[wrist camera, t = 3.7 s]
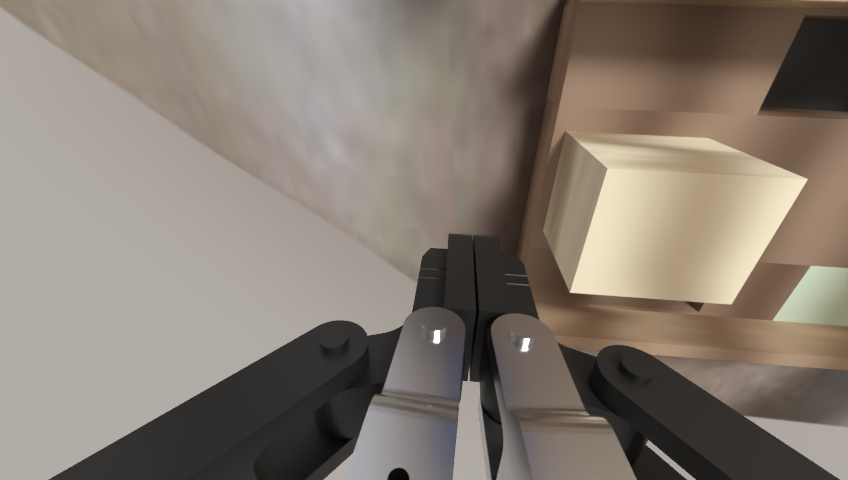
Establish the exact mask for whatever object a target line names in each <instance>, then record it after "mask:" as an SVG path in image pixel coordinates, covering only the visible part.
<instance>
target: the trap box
mask: <svg viewBox="0 0 848 480" xmlns="http://www.w3.org/2000/svg"><path fill="white" fill-rule="evenodd" d="M566 131H572V132H593V133H614V134H634V135H655V136H676V137H697V138H709V139H712V140H714V141H717V142H719V143H721V144H724V145H726V146H729V147H731V148H734V149H736V150H738V151H741V152H743V153H746V154H748V155H751V156H753V157H755V158H758V159H760V160H763V161H765V162H768V163H770V164H773V165H775V166H777V167H780V168H782V169H785V170H787V171H790V172H792V173H794V174H797V175H799V176H802V177H804V178H807V179H808V180H807V182H806V183H805V185H804V187H803V188H802V190H801V192H800V193H799V195H798V196H797V198H796V200H795V201H794V203H793V205H792V206H791V208H790V210H789V211H788V213H787V214H786V216H785V218H784V219H783V221H782V223H781V224H780V226H779V228H778V229H777V231H776V232H775V234H774V236H773V237H772V239H771V241H770V242H769V244H768V246H767V247H766V249H765V250H764V252H763V254H762V255H761V257H760V259H759V260H758V262H757V264H756V265H755V267H754V268H753V270H752V272H751V273H750V275H749V277H748V278H747V280H746V282H745V283H744V285H743V286H742V288H741V290H740V291H739V293H738V295H737V296H736V298H735V300H734V301H733V303H732V304H717V303H703V302H690V301H676V300H662V299H649V298H635V297H621V296H608V295H594V294H580V293H570V292H569V290H568V287H567V285H566V283H565V280H564V278H563V276H562V274H561V271H560V269H559V267H558V264H557V262H556V260H555V257H554V255H553V253H552V251H551V248H550V246H549V244H548V241H547V239H546V237H545V235H544V232H543V228H544V224H545V220H546V215H547V211H548V207H549V202H550V198H551V193H552V189H553V185H554V180H555V176H556V171H557V167H558V163H559V158H560V154H561V150H562V145H563V141H564V136H565V132H566ZM516 256H517V257H518V258H519V259H520V260H521V261H522V262H523V263H524V266H525V270H526V273H527V277H528V281H529V286H530V288H531V291H532V295H533V298H534V302H535V306H536V309H537V313H538V316H539V320H540V321H542V322H543V323H544V324H546V325H547V326H548V327H549V328H550V330H551V331H552V332H553V334H554V336H555V338H556V341H557V342H559V343H560V344H562V345H564V346H566V347H568V348H578V349H590V350H602V349H603V348H605V347H607V346H611V345H625V346H630V347H634V348H637V349H639V350H642V351H644V352H646V353H648V354H651V355H663V356H676V357H688V358H700V359H712V360H724V361H737V362H749V363H761V364H773V365H786V366H798V367H810V368H822V369H834V370H847V371H848V0H565V3H564V8H563V14H562V19H561V24H560V29H559V34H558V40H557V45H556V50H555V55H554V61H553V66H552V71H551V76H550V81H549V87H548V92H547V97H546V102H545V107H544V113H543V118H542V123H541V128H540V134H539V139H538V144H537V149H536V154H535V160H534V165H533V170H532V175H531V180H530V186H529V191H528V196H527V201H526V207H525V212H524V217H523V222H522V227H521V233H520V238H519V243H518V248H517V253H516Z"/></svg>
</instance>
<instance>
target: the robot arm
mask: <svg viewBox="0 0 848 480" xmlns="http://www.w3.org/2000/svg"><path fill="white" fill-rule="evenodd" d="M469 364H470V381H474V382H480V401H479V407H478V413H479V422H480V428H481V429H480V430H481V437H482V445H483V453H484V460H485V468H486V476H487V480H686V479H685V478H684V477H683V476H682V475H681V474H679V473H678V472H677V471H676V470H675V469H673V468H672V467H671V466H670V465H669V464H668V463H666V462H665V461H664V460H663V459H662V458H660V457H659V456H658V455H657V454H656V453H655V452H654V451H652V450H651V449H650V448H648V446H646V443H647V441H648V440H649V441H651V442H652V443H653V444H654V445H655V446H657V447H658V448H659V449H660V450H662V451H663V452H664V453H665V454H666V455H667V456H669V457H670V458H671V459H672V460H673V461H675V462H676V463H677V464H678V465H680V466H681V467H682V468H683V469H685V471H686V472H688V473H689V474H690V475H691V476H692V477H694V478H695V479H696V480H839V479H838V478H836V477H835V476H833V475H832V474H830V473H829V472H827V471H826V470H824V469H823V468H821V467H820V466H818V465H817V464H815V463H814V462H812V461H811V460H809V459H808V458H806V457H805V456H803V455H802V454H800V453H798V452H797V451H796V450H794V449H792V448H791V447H789V446H788V445H786V444H785V443H783V442H782V441H780V440H779V439H777V438H776V437H774V436H773V435H771V434H770V433H768V432H767V431H765V430H764V429H762V428H760V427H759V426H757V425H756V424H754V423H753V422H752V421H750V420H749V419H747V418H745V417H744V416H742V415H741V414H739V413H738V412H736V411H735V410H733V409H732V408H730V407H729V406H727V405H726V404H724V403H723V402H721V401H720V400H718V399H717V398H715V397H714V396H712V395H711V394H709V393H708V392H706V391H705V390H703V389H702V388H700V387H698V386H697V385H695V384H694V383H692V382H691V381H689V380H688V379H686V378H685V377H683V376H682V375H680V374H679V373H677V372H676V371H674V370H673V369H671V368H670V367H668V366H667V365H665V364H664V363H662V362H661V361H659V360H658V359H656V358H654V357H653V356H651V355H650V354H648V353H646V352H644V351H642V350H639V349H637V348H634V347H630V346H625V345H611V346H607V347H605V348H603V349H602V350H601V351H600V352H599V354H598V356H597V357H595V356H592V355H589V354H586V353H583V352H580V351H577V350H574V349H571V348H568V347H566V346H564V345H562V344H560V343H559V342H557V341H556V338H555V336H554V334H553V332H552V331H551V330H550V328H549V327H548V326H547V325H546V324H544V323H543V322H542V321H540V320H539V316H538V313H537V309H536V306H535V302H534V298H533V295H532V291H531V288H530V286H529V281H528V277H527V273H526V270H525V266H524V263H523V262H522V261H521V260H520V259H519V258H518V257H517V256H516V255H515V254H512V253H501V251H500V246H499V241H498V237H495V236H479V235H474V236H473V242H472V235H463V234H449V238H448V249H438V248H430V249H429V250H428V251H427V252H426V253H425V254H424V255H423V256H422V261H421V267H420V272H419V278H418V283H417V289H416V294H415V300H414V305H413V311H412V313H411V314H410V315H409V316H408V317H407V318H406V320H405V322H404V325H402V326H401V327H399V328H397V329H396V330H393V331H390V332H387V333H382V334H376V335H370V336H367V334H366V332H365V331H364V329H363V328H362V327H361V326H359V325H358V324H355V323H353V322H350V321H331V322H327V323H324V324H321V325H319V326H317V327H315V328H314V329H312V330H310V331H309V332H307V333H305V334H303V335H301V336H300V337H298V338H296V339H294V340H293V341H291V342H289V343H287V344H286V345H284V346H282V347H280V348H279V349H277V350H275V351H273V352H272V353H270V354H268V355H267V356H265V357H263V358H261V359H259V360H258V361H256V362H254V363H252V364H251V365H249V366H248V367H245V368H244V369H242V370H240V371H238V372H237V373H235V374H233V375H231V376H230V377H228V378H226V379H224V380H223V381H221V382H219V383H217V384H216V385H214V386H212V387H210V388H209V389H207V390H205V391H203V392H201V393H200V394H198V395H196V396H194V397H193V398H191V399H189V400H187V401H186V402H184V403H182V404H180V405H179V406H177V407H175V408H173V409H172V410H170V411H168V412H166V413H165V414H163V415H161V416H160V417H158V418H156V419H154V420H153V421H151V422H149V423H147V424H146V425H144V426H142V427H140V428H138V429H137V430H135V431H133V432H131V433H130V434H128V435H126V436H125V437H123V438H121V439H119V440H117V441H116V442H114V443H112V444H110V445H109V446H107V447H105V448H104V449H102V450H100V451H98V452H96V453H95V454H93V455H91V456H89V457H88V458H86V459H84V460H82V461H81V462H79V463H77V464H76V465H74V466H72V467H70V468H68V469H67V470H65V471H63V472H61V473H60V474H58V475H56V476H54V477H53V478H51V479H49V480H323V479H324V478H326V477H327V476H328V475H329V474H330V473H331V472H332V471H333V470H335V469H336V468H337V467H338V466H339V465H340V464H341V463H342V462H343V461H345V460H346V459H347V458H348V457H349V456H350V455H351V454H352V453H353V455H352V459H351V461H350V464H349V467H348V470H347V473H346V476H345V479H344V480H452V478H453V467H454V455H455V445H456V433H457V423H458V411H459V402H460V399H461V391H462V383H463V381H467V379H468V371H469Z"/></svg>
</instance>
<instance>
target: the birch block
mask: <svg viewBox="0 0 848 480" xmlns="http://www.w3.org/2000/svg"><path fill="white" fill-rule="evenodd" d="M807 180H808V179H807V178H804V177H802V176H799V175H797V174H794V173H792V172H790V171H787V170H785V169H782V168H780V167H777V166H775V165H773V164H770V163H768V162H765V161H763V160H760V159H758V158H755V157H753V156H751V155H748V154H746V153H743V152H741V151H738V150H736V149H734V148H731V147H729V146H726V145H724V144H721V143H719V142H717V141H714V140H712V139H709V138H697V137H676V136H655V135H634V134H614V133H593V132H572V131H566V132H565V136H564V141H563V145H562V150H561V154H560V158H559V163H558V167H557V171H556V176H555V180H554V185H553V189H552V193H551V198H550V202H549V207H548V211H547V215H546V220H545V224H544V228H543V232H544V235H545V237H546V239H547V241H548V244H549V246H550V248H551V251H552V253H553V255H554V257H555V260H556V262H557V264H558V267H559V269H560V271H561V274H562V276H563V278H564V280H565V283H566V285H567V287H568V290H569V292H570V293H580V294H594V295H608V296H621V297H635V298H649V299H662V300H676V301H690V302H703V303H717V304H732V303H733V301H734V300H735V298H736V296H737V295H738V293H739V291H740V290H741V288H742V286H743V285H744V283H745V282H746V280H747V278H748V277H749V275H750V273H751V272H752V270H753V268H754V267H755V265H756V264H757V262H758V260H759V259H760V257H761V255H762V254H763V252H764V250H765V249H766V247H767V246H768V244H769V242H770V241H771V239H772V237H773V236H774V234H775V232H776V231H777V229H778V228H779V226H780V224H781V223H782V221H783V219H784V218H785V216H786V214H787V213H788V211H789V210H790V208H791V206H792V205H793V203H794V201H795V200H796V198H797V196H798V195H799V193H800V192H801V190H802V188H803V187H804V185H805V183H806V182H807Z"/></svg>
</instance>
